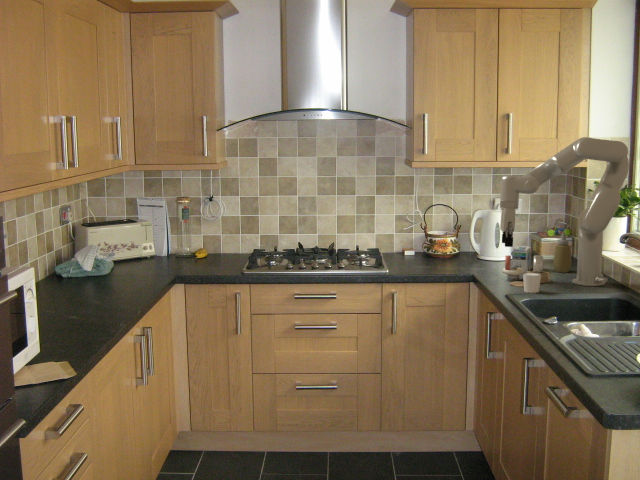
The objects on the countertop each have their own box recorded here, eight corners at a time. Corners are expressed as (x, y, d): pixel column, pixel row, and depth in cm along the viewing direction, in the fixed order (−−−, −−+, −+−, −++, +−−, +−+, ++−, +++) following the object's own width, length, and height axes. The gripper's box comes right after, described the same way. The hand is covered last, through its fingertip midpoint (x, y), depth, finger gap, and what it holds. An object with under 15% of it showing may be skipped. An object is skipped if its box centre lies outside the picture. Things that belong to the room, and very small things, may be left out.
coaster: (537, 285, 298) (537, 284, 297) (520, 288, 293) (520, 286, 293) (521, 281, 305) (521, 280, 305) (505, 284, 301) (505, 282, 301)
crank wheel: (529, 273, 307) (529, 255, 306) (513, 275, 303) (513, 257, 302) (514, 270, 315) (514, 252, 314) (498, 272, 310) (498, 254, 309)
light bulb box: (527, 273, 325) (528, 249, 323) (512, 272, 328) (512, 248, 326) (531, 268, 334) (531, 246, 333) (516, 268, 337) (516, 245, 336)
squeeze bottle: (572, 273, 322) (574, 234, 319) (553, 273, 323) (555, 233, 321) (570, 270, 330) (571, 231, 327) (551, 269, 331) (553, 231, 329)
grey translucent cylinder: (543, 281, 305) (544, 256, 304) (537, 282, 304) (538, 257, 302) (537, 280, 309) (538, 254, 307) (530, 281, 307) (531, 255, 305)
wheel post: (521, 280, 308) (522, 273, 308) (513, 281, 306) (513, 274, 305) (513, 278, 312) (513, 271, 312) (504, 279, 310) (505, 273, 310)
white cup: (531, 288, 292) (532, 271, 291) (544, 292, 286) (544, 274, 285) (518, 290, 289) (519, 273, 288) (531, 293, 283) (532, 276, 282)
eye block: (549, 281, 305) (549, 272, 304) (537, 283, 302) (537, 274, 301) (537, 279, 311) (537, 270, 310) (525, 280, 308) (525, 271, 307)
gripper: (497, 202, 312) (495, 241, 314) (502, 206, 295) (500, 247, 297) (515, 203, 311) (513, 242, 313) (521, 207, 294) (519, 248, 296)
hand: (507, 244), depth 305 cm, fingers open, 9 cm apart
